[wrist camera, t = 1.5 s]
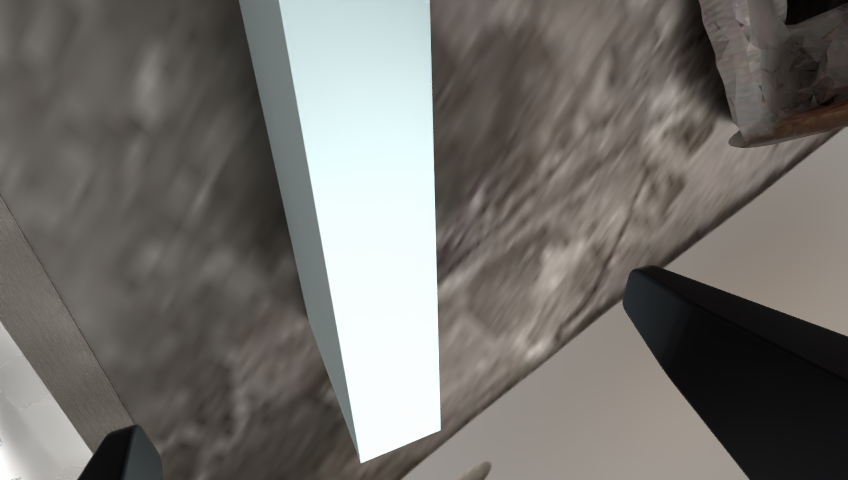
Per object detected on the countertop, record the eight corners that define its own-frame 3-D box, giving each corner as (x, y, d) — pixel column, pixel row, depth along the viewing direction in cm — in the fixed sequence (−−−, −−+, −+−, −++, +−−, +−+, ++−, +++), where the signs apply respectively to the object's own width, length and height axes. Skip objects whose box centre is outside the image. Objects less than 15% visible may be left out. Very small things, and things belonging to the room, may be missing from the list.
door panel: (368, 300, 24) (440, 430, 18) (307, 319, 23) (361, 463, 17) (319, -101, 15) (426, -120, 9) (216, -98, 14) (258, -118, 8)
